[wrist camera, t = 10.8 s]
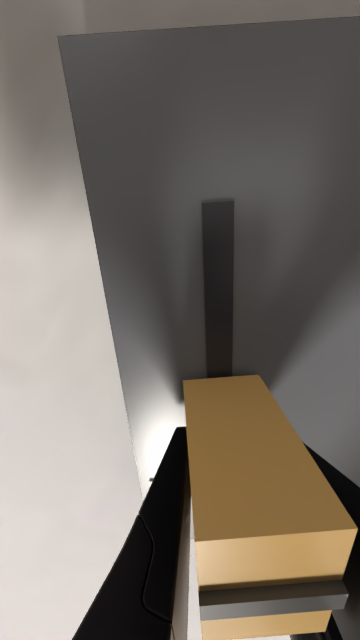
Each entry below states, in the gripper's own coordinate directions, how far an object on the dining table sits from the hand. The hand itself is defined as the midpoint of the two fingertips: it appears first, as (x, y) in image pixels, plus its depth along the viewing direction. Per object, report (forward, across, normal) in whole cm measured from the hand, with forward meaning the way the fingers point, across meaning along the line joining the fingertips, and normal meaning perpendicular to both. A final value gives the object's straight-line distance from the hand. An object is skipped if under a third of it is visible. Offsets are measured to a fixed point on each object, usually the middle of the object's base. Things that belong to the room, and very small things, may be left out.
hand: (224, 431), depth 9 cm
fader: (+1, 0, 0) cm, 1 cm away
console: (+4, -5, -2) cm, 6 cm away
